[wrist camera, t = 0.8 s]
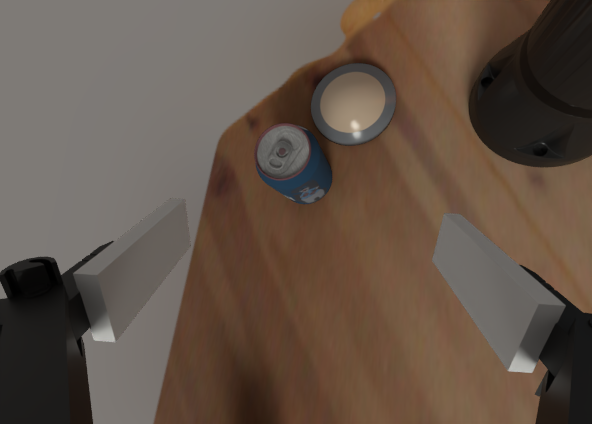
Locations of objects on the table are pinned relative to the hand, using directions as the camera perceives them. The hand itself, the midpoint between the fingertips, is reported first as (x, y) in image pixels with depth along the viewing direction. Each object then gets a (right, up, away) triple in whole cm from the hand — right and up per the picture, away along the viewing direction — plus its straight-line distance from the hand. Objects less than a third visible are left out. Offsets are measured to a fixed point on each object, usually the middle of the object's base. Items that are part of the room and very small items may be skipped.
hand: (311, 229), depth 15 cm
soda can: (+1, +5, +25) cm, 25 cm away
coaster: (+7, +15, +24) cm, 30 cm away
